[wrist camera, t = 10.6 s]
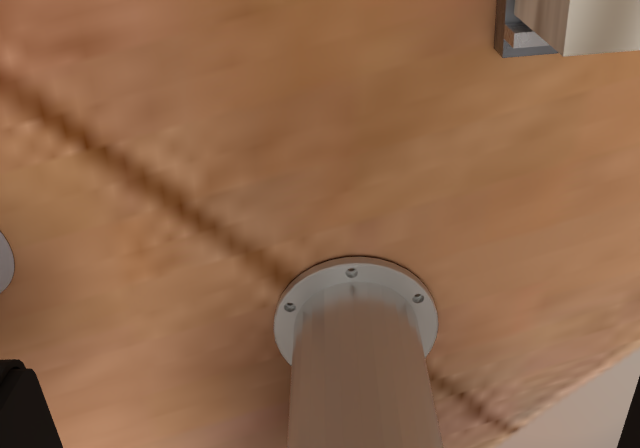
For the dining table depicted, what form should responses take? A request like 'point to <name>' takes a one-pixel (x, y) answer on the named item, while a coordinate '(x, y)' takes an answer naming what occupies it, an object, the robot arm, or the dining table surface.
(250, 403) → the dining table surface
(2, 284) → the lamp
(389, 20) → the dining table surface
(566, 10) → the block
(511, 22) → the rail
